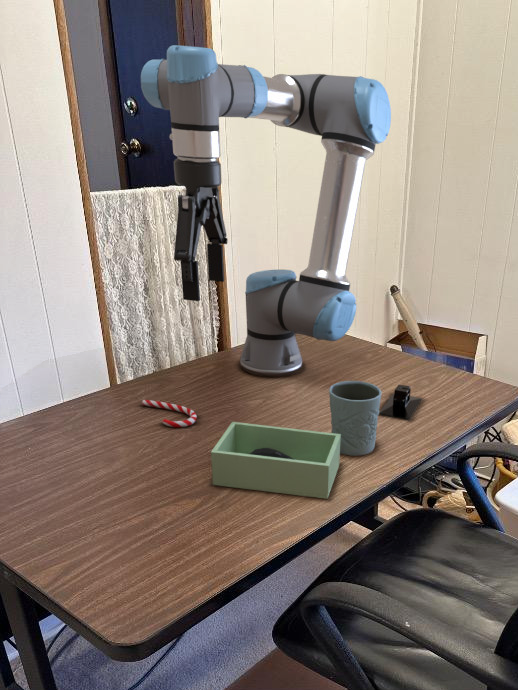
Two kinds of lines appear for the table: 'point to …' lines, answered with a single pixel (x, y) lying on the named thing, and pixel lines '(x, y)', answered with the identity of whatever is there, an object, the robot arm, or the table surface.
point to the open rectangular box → (276, 460)
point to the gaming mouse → (270, 453)
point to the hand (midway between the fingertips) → (204, 290)
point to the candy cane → (175, 408)
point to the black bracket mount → (401, 404)
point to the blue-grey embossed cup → (355, 415)
